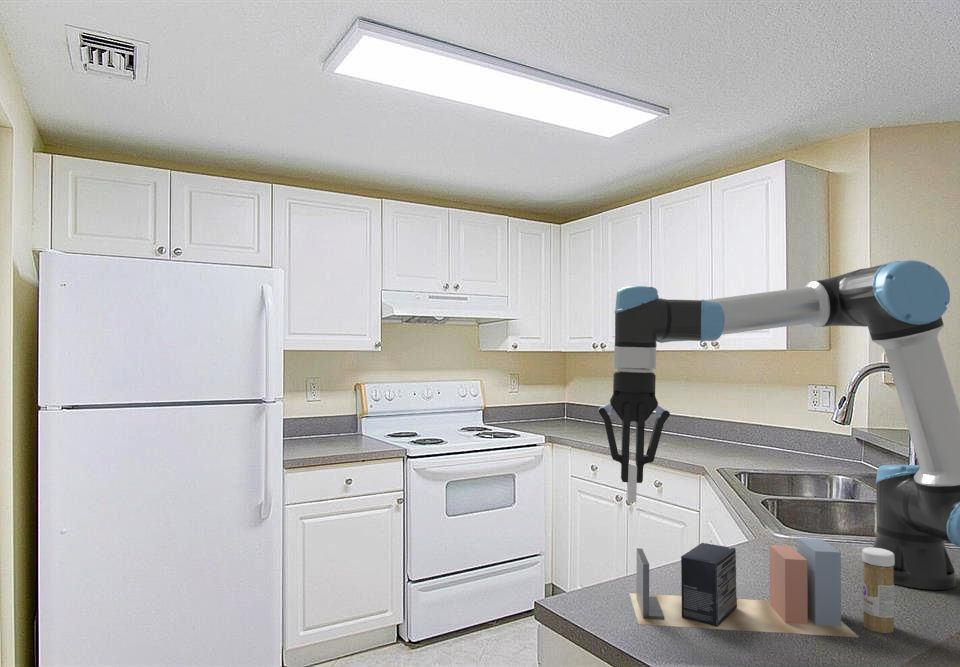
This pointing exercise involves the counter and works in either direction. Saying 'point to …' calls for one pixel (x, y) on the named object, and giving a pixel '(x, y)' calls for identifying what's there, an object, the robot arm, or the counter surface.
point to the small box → (708, 583)
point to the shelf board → (738, 618)
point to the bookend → (646, 590)
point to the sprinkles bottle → (878, 589)
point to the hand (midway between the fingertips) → (631, 500)
